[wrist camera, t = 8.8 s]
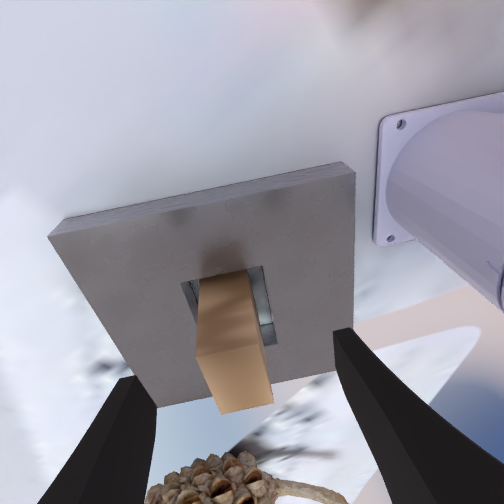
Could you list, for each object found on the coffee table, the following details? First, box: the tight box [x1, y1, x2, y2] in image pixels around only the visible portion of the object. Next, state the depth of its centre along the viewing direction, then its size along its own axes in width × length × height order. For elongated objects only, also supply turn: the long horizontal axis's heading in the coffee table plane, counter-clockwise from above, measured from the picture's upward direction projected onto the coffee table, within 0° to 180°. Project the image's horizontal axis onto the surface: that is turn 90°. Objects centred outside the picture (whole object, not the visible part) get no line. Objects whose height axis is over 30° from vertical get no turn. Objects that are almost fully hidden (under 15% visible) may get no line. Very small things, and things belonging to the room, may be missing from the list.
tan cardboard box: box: [195, 269, 274, 414], centre depth 18 cm, size 3×5×7 cm, turn 11°
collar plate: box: [47, 162, 356, 408], centre depth 20 cm, size 16×16×2 cm
